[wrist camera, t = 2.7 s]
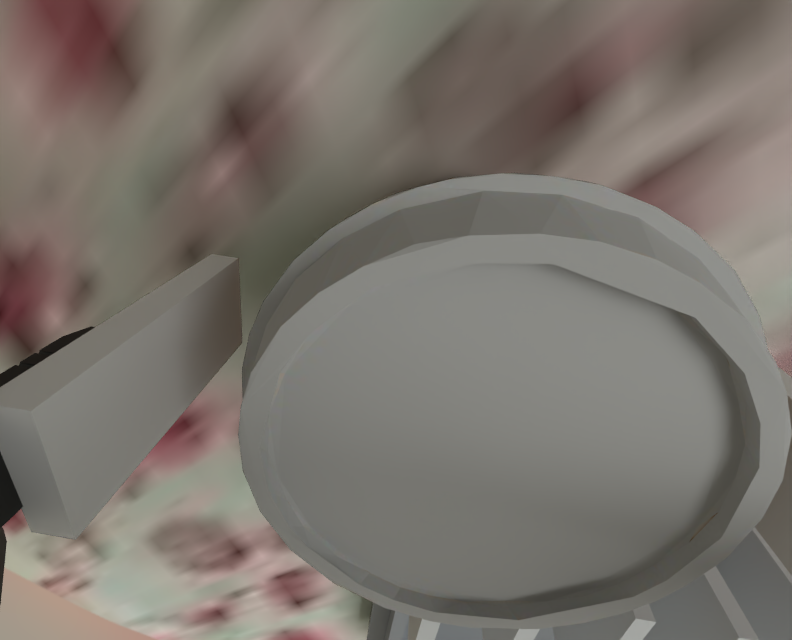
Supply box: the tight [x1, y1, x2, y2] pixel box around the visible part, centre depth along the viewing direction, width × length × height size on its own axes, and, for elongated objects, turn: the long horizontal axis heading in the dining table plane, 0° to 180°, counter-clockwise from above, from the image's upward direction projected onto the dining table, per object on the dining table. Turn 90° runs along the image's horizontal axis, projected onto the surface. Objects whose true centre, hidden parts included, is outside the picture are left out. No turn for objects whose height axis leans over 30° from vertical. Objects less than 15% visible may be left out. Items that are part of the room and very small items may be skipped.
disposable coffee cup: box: [238, 173, 792, 629], centre depth 12 cm, size 10×10×12 cm
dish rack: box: [367, 527, 792, 640], centre depth 21 cm, size 22×18×10 cm
